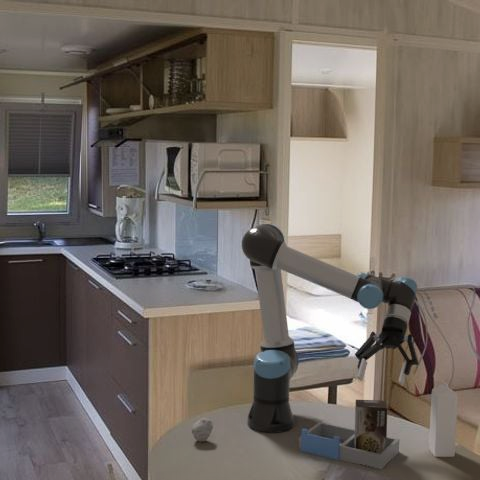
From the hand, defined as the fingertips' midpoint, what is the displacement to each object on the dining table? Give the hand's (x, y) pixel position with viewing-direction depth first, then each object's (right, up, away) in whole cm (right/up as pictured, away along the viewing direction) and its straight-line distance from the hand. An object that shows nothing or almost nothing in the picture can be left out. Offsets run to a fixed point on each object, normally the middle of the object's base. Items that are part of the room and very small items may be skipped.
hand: (379, 381), depth 228 cm
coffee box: (-4, -21, -7) cm, 22 cm away
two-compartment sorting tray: (-10, -20, -3) cm, 23 cm away
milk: (+18, -21, -3) cm, 28 cm away
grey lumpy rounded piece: (-54, -19, +2) cm, 58 cm away
